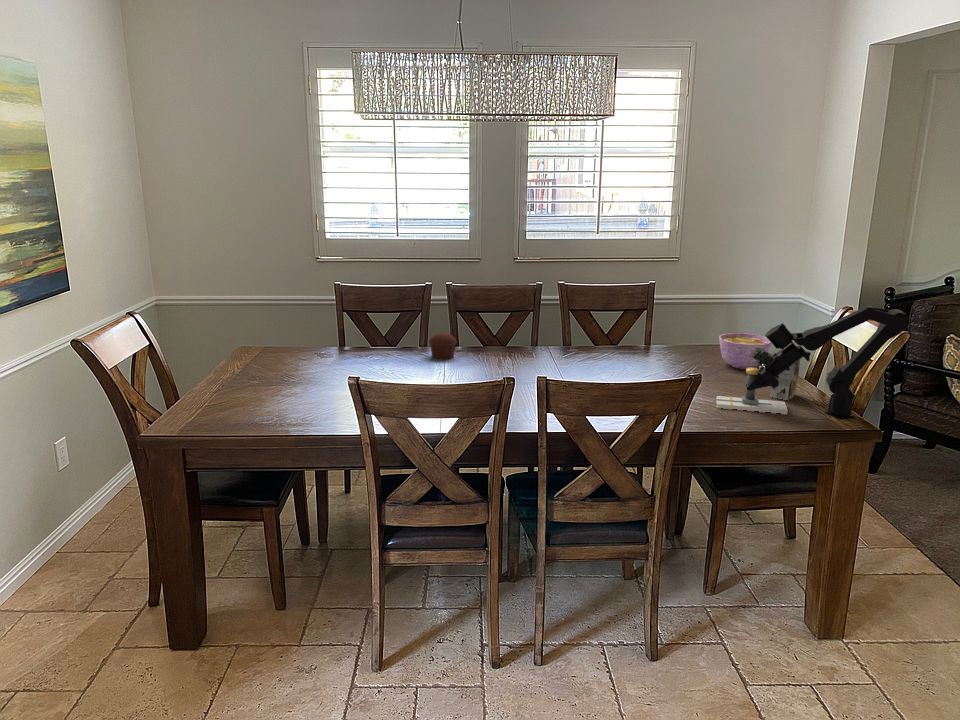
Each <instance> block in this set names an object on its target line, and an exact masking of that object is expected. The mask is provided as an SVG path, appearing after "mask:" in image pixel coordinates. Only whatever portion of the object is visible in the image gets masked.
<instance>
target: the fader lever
mask: <svg viewBox="0 0 960 720" xmlns="http://www.w3.org/2000/svg"><path fill="white" fill-rule="evenodd" d="M758 370H759V372H760V369H758V368H756V367H753V368H746V369H745V373H746V374H747V379H746V380H747V381H746V384H747V387H748V386H749V385H750V384H751V383H752V382H753V381H754V380H755V379H756V378H757V375H758ZM747 387H746V388H747ZM756 392H757V389H754V390H749V391H748V390H747V389H745V395H742V396H741V398H742V403H748V404H758V400H759V398H758V397H756Z"/></svg>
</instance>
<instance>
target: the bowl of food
mask: <svg viewBox="0 0 960 720" xmlns="http://www.w3.org/2000/svg"><path fill="white" fill-rule="evenodd" d="M718 340H719V347H720V353H721V357H722V359H723V360H724V362H725V363H727V364H729V365H730V366H731V367H732V368H734V367H735V368H734V369H738V368H740V370H746V368H756V365H758V366H760V364H758V363H757V360H756V359H754V358H753V356H752V354H753V352H754V351H755V349H756V348H757V347H758V348H760V349H762V350H765V351H766V352H768V353H769V350H770V348H771V345H772V343H771V342H770V341H769V340H768V339H767V338H766V337H765V335H764V336H763V335H759V334H754V333H753V334H752V333H744V332H743V333H742V332H741V333H740V332H737V333H736V332H733V333H732V332H730V333H724V334H719V336H718Z"/></svg>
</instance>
